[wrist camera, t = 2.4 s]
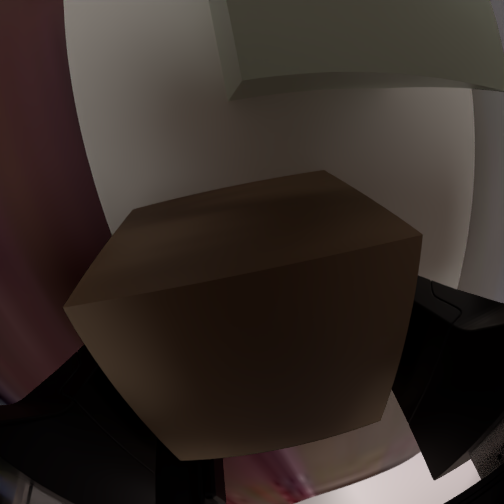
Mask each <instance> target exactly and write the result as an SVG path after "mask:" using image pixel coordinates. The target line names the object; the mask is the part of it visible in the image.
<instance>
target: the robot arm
mask: <svg viewBox="0 0 504 504" xmlns="http://www.w3.org/2000/svg"><path fill="white" fill-rule="evenodd" d="M392 391H393V393H394V395H395V397H396V399H397V401H398V403H399V405H400V407H401V409H402V411H403V413H404V415H405V417H406V420H407V422H408V423H409V426H410V428H411V431H412V433H413V435H414V437H415V439H416V441H417V444H418V446H419V448H420V450H421V453H422V455H423V457H424V459H425V461H426V464H427V466H428V468H429V471H430V473H431V475H432V478H433V480H436V479H438V478H440V477H442V476H444V475H445V474H447V473H449V472H450V471H452V470H454V469H456V468H457V467H459V466H460V465H462V464H463V463H465V462H467V461H468V460H470V459H471V460H472V462H473V464H474V466H475V468H476V469H477V472H478V474H479V476H480V478H481V480H480V481H479V482H477V483H476V484H474V485H473V486H471V487H470V488H468V489H467V490H465V491H464V492H462V493H461V494H459V495H457V496H456V497H454V498H453V499H451V500H449V501H448V502H446V503H444V504H504V303H500V302H497V301H493V300H490V299H487V298H484V297H480V296H477V295H474V294H470V293H467V292H464V291H461V290H458V289H455V288H452V287H449V286H446V285H443V284H440V283H438V282H435V281H433V280H432V281H430V279H427V278H424V277H422V276H419V275H418V278H417V284H416V290H415V296H414V302H413V307H412V312H411V317H410V321H409V326H408V330H407V335H406V339H405V343H404V347H403V351H402V355H401V358H400V362H399V366H398V369H397V373H396V376H395V379H394V383H393V386H392ZM225 503H226V494H225V482H224V470H223V458H216V459H203V460H185V461H180V460H179V459H178V458H177V457H176V456H175V455H174V454H173V453H172V452H171V451H170V450H169V449H168V448H167V447H166V446H165V445H164V444H163V443H162V442H161V441H160V440H159V439H158V437H157V436H156V435H155V434H154V433H153V432H152V431H151V430H150V429H149V428H148V427H147V425H146V424H145V423H144V422H143V421H142V420H141V419H140V418H139V416H138V415H137V414H136V413H135V412H134V410H133V409H132V408H131V407H130V406H129V404H128V403H127V402H126V401H125V400H124V398H123V397H122V396H121V395H120V393H119V392H118V391H117V389H116V388H115V387H114V385H113V384H112V383H111V381H110V380H109V379H108V377H107V376H106V375H105V373H104V372H103V371H102V369H101V368H100V366H99V365H98V363H97V362H96V361H95V359H94V358H93V356H92V355H91V353H90V352H89V350H88V349H87V347H86V346H85V344H84V345H83V346H82V347H81V348H80V349H79V350H78V352H76V353H75V354H74V355H73V356H72V357H71V358H69V359H68V360H67V361H66V362H65V363H64V364H63V365H62V366H61V367H60V368H59V369H57V370H56V371H55V372H54V373H53V374H52V375H50V376H49V377H48V378H47V379H46V380H45V381H43V382H42V383H41V384H40V385H39V386H37V387H36V388H35V389H34V390H33V391H32V392H30V393H29V394H28V395H27V396H26V397H24V398H23V399H22V400H20V401H18V402H16V403H14V404H10V405H0V504H225Z"/></svg>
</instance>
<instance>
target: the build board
mask: <svg viewBox="0 0 504 504" xmlns="http://www.w3.org/2000/svg"><path fill="white" fill-rule="evenodd" d="M64 19H65V33H66V44H67V53H68V61H69V69H70V76H71V82H72V88H73V94H74V100H75V105H76V110H77V115H78V120H79V124H80V129H81V133H82V138H83V142H84V146H85V150H86V154H87V158H88V161H89V165H90V169H91V172H92V176H93V179H94V183H95V186H96V189H97V192H98V196H99V199H100V202H101V205H102V208H103V211H104V214H105V217H106V220H107V223H108V226H109V229H110V231H111V234H112V235H113V234H114V233H115V231H116V230H117V229H118V227H119V226H120V225H121V224H122V222H123V221H124V220H125V218H126V217H127V216H128V215H129V213H130V212H131V211H132V210H133V209H136V208H140V207H144V206H148V205H151V204H155V203H159V202H163V201H167V200H172V199H176V198H180V197H184V196H189V195H193V194H197V193H202V192H206V191H211V190H215V189H220V188H225V187H230V186H235V185H240V184H245V183H250V182H255V181H261V180H266V179H271V178H277V177H283V176H289V175H295V174H301V173H307V172H314V171H320V170H325V171H327V172H328V173H330V174H332V175H333V176H335V177H337V178H339V179H340V180H342V181H344V182H345V183H347V184H348V185H350V186H352V187H353V188H355V189H357V190H358V191H360V192H361V193H363V194H365V195H366V196H368V197H369V198H371V199H372V200H374V201H375V202H377V203H378V204H380V205H381V206H383V207H384V208H386V209H387V210H389V211H390V212H392V213H393V214H395V215H396V216H398V217H399V218H401V219H402V220H404V221H405V222H406V223H408V224H409V225H411V226H412V227H413V228H415V229H416V230H418V231H419V232H420V233H422V234H423V238H422V248H421V256H420V264H419V271H418V275H419V276H422V277H424V278H427V279H430V281H432V280H433V281H435V282H438V283H440V284H443V285H446V286H449V287H452V288H455V289H457V287H458V283H459V279H460V275H461V270H462V265H463V260H464V255H465V250H466V244H467V238H468V232H469V224H470V217H471V208H472V198H473V185H474V165H475V129H474V109H473V97H472V89H467V88H446V87H408V88H351V89H326V90H311V91H300V92H289V93H280V94H272V95H265V96H258V97H251V98H245V99H239V100H233V101H228V98H227V93H226V88H225V83H224V77H223V72H222V67H221V62H220V57H219V52H218V46H217V41H216V36H215V31H214V26H213V21H212V16H211V11H210V6H209V0H64Z"/></svg>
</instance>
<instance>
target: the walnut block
mask: <svg viewBox="0 0 504 504" xmlns="http://www.w3.org/2000/svg"><path fill="white" fill-rule="evenodd" d="M422 238H423V234H422V233H420V232H419V231H418V230H416V229H415V228H413V227H412V226H411V225H409V224H408V223H406V222H405V221H404V220H402V219H401V218H399V217H398V216H396V215H395V214H393V213H392V212H390V211H389V210H387V209H386V208H384V207H383V206H381V205H380V204H378V203H377V202H375V201H374V200H372V199H371V198H369V197H368V196H366V195H365V194H363V193H361V192H360V191H358V190H357V189H355V188H353V187H352V186H350V185H348V184H347V183H345V182H344V181H342V180H340V179H339V178H337V177H335V176H333V175H332V174H330V173H328V172H327V171H325V170H320V171H314V172H307V173H301V174H295V175H289V176H283V177H277V178H271V179H266V180H261V181H255V182H250V183H245V184H240V185H235V186H230V187H225V188H220V189H215V190H211V191H206V192H202V193H197V194H193V195H189V196H184V197H180V198H176V199H172V200H167V201H163V202H159V203H155V204H151V205H148V206H144V207H140V208H136V209H133V210H132V211H131V212H130V213H129V215H128V216H127V217H126V218H125V220H124V221H123V222H122V224H121V225H120V226H119V227H118V229H117V230H116V231H115V233H114V234H113V235H112V237H111V238H110V239H109V241H108V242H107V243H106V245H105V246H104V247H103V249H102V250H101V251H100V253H99V254H98V256H97V257H96V258H95V260H94V261H93V263H92V264H91V265H90V267H89V268H88V270H87V271H86V273H85V274H84V276H83V277H82V279H81V280H80V282H79V283H78V285H77V286H76V288H75V289H74V291H73V292H72V294H71V295H70V297H69V299H68V300H67V302H66V303H65V305H64V306H63V309H64V311H65V313H66V314H67V316H68V318H69V320H70V321H71V323H72V325H73V326H74V328H75V330H76V331H77V333H78V335H79V336H80V338H81V339H82V341H83V342H84V344H85V346H86V347H87V349H88V350H89V352H90V353H91V355H92V356H93V358H94V359H95V361H96V362H97V363H98V365H99V366H100V368H101V369H102V371H103V372H104V373H105V375H106V376H107V377H108V379H109V380H110V381H111V383H112V384H113V385H114V387H115V388H116V389H117V391H118V392H119V393H120V395H121V396H122V397H123V398H124V400H125V401H126V402H127V403H128V404H129V406H130V407H131V408H132V409H133V410H134V412H135V413H136V414H137V415H138V416H139V418H140V419H141V420H142V421H143V422H144V423H145V424H146V425H147V427H148V428H149V429H150V430H151V431H152V432H153V433H154V434H155V435H156V436H157V437H158V439H159V440H160V441H161V442H162V443H163V444H164V445H165V446H166V447H167V448H168V449H169V450H170V451H171V452H172V453H173V454H174V455H175V456H176V457H177V458H178V459H179V460H180V461H185V460H203V459H216V458H226V457H234V456H242V455H249V454H256V453H262V452H268V451H273V450H279V449H284V448H289V447H293V446H298V445H302V444H306V443H310V442H314V441H318V440H322V439H326V438H329V437H333V436H336V435H339V434H343V433H346V432H349V431H352V430H355V429H358V428H361V427H364V426H367V425H370V424H373V423H375V422H378V421H380V420H381V418H382V415H383V412H384V410H385V407H386V404H387V401H388V398H389V395H390V392H391V389H392V386H393V383H394V379H395V376H396V373H397V369H398V366H399V362H400V358H401V355H402V351H403V347H404V343H405V339H406V335H407V330H408V326H409V321H410V317H411V312H412V307H413V302H414V296H415V290H416V284H417V278H418V271H419V264H420V256H421V248H422Z"/></svg>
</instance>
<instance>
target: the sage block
mask: <svg viewBox="0 0 504 504" xmlns="http://www.w3.org/2000/svg"><path fill="white" fill-rule="evenodd" d="M209 6H210V11H211V16H212V21H213V26H214V31H215V36H216V41H217V46H218V52H219V57H220V62H221V67H222V72H223V77H224V83H225V88H226V93H227V98H228V101H233V100H239V99H245V98H251V97H258V96H265V95H272V94H280V93H289V92H300V91H311V90H326V89H351V88H408V87H446V88H467V89H481V90H491V91H500V92H504V54H503V48H502V44H501V39H500V35H499V30H498V26H497V23H496V19H495V15H494V12H493V8H492V5H491V2H490V0H209Z"/></svg>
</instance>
